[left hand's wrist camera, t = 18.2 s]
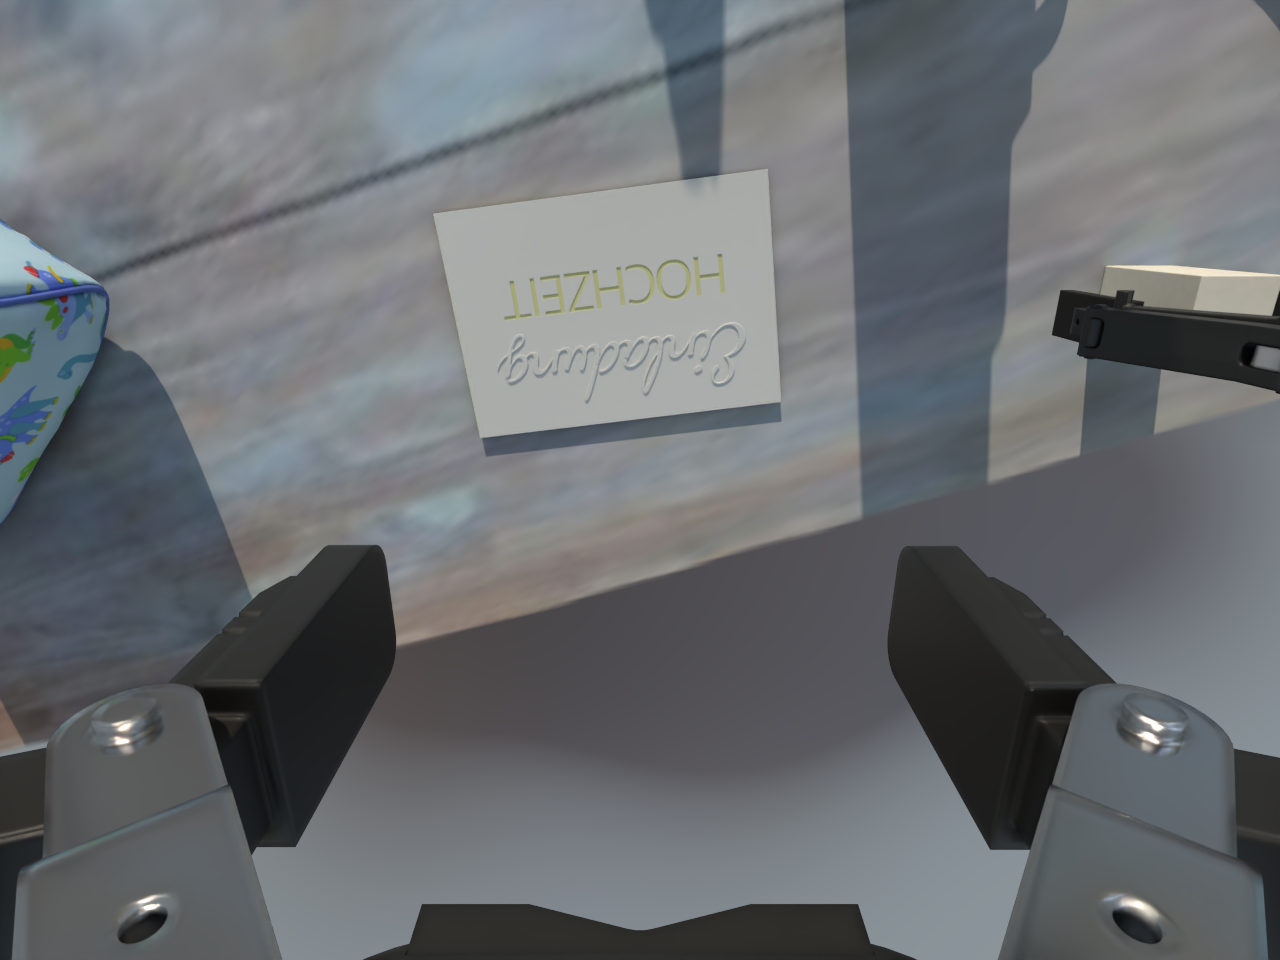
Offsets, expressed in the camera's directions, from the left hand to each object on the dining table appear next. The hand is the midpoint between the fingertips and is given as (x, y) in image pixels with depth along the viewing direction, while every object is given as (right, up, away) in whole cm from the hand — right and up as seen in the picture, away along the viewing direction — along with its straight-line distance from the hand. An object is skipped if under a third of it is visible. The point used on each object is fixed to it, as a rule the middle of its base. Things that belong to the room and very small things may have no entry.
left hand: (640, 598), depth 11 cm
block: (+33, +13, +37) cm, 51 cm away
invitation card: (-2, +13, +37) cm, 39 cm away
